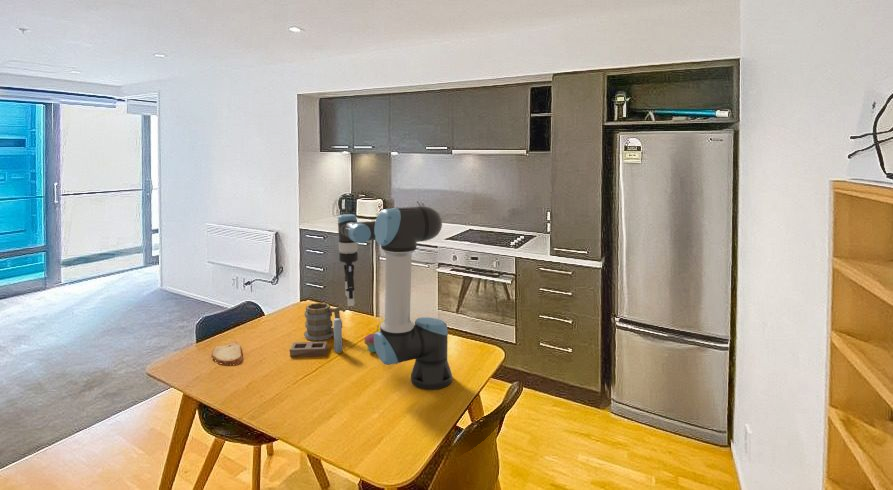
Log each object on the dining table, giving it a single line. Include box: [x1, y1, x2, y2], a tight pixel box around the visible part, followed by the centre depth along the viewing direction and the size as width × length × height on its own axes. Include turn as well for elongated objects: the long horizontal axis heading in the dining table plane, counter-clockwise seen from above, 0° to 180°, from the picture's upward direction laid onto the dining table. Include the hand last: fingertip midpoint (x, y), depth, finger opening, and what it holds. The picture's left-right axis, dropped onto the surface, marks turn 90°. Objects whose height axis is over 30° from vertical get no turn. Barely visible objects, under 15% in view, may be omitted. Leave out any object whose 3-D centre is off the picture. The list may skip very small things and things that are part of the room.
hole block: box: [289, 341, 329, 358], centre depth 208 cm, size 8×14×3 cm, turn 96°
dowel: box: [332, 317, 343, 354], centre depth 208 cm, size 3×3×14 cm
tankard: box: [303, 302, 347, 342], centre depth 225 cm, size 20×13×15 cm, turn 73°
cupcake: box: [363, 322, 379, 353], centre depth 209 cm, size 9×8×12 cm
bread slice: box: [211, 341, 244, 366], centre depth 204 cm, size 18×18×4 cm
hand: (349, 301), depth 210 cm, fingers open, 13 cm apart
